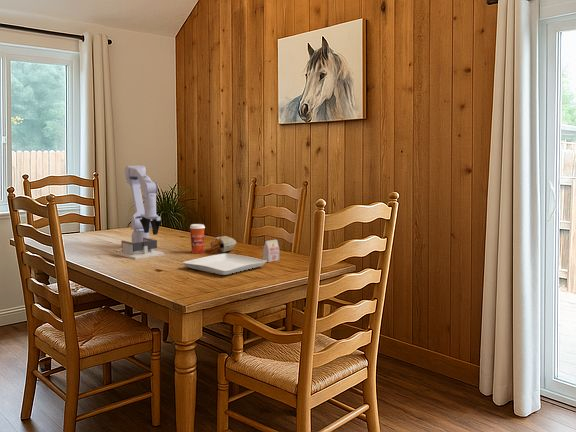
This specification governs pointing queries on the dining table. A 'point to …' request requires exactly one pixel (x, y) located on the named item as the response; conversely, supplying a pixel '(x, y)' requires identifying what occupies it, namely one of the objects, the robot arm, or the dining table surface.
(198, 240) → the paper cup
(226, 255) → the square plate
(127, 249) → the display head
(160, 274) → the dining table surface
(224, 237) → the nautilus
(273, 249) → the milk carton
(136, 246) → the glasses
